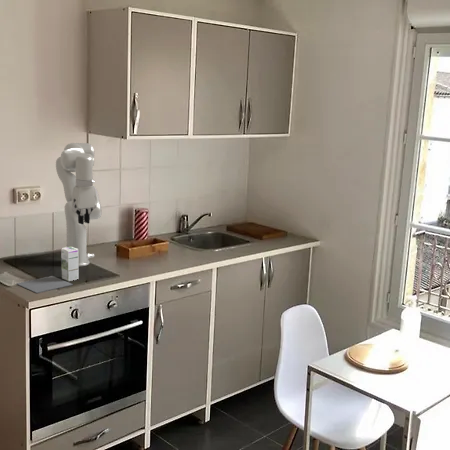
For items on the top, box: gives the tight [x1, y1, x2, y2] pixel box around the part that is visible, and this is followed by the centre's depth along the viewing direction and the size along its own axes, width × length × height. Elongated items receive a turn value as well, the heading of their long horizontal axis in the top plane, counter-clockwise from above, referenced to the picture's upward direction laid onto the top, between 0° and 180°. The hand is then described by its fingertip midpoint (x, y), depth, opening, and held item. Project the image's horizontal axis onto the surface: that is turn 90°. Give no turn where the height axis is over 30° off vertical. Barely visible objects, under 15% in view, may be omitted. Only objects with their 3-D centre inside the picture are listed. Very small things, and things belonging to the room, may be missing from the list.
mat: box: [16, 275, 74, 294], centre depth 273 cm, size 18×16×1 cm
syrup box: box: [60, 246, 80, 282], centre depth 281 cm, size 6×6×14 cm
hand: (83, 223), depth 282 cm, fingers open, 2 cm apart
